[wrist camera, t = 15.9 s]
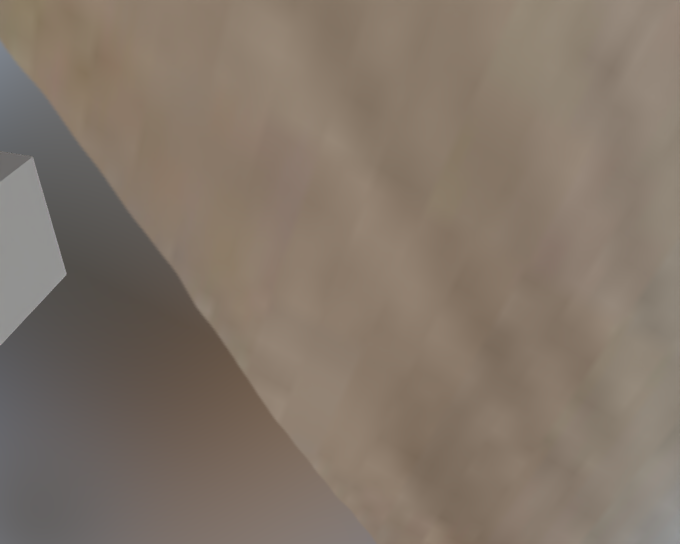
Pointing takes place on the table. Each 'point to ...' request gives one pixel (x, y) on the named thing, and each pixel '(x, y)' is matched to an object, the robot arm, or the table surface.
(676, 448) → the table surface
